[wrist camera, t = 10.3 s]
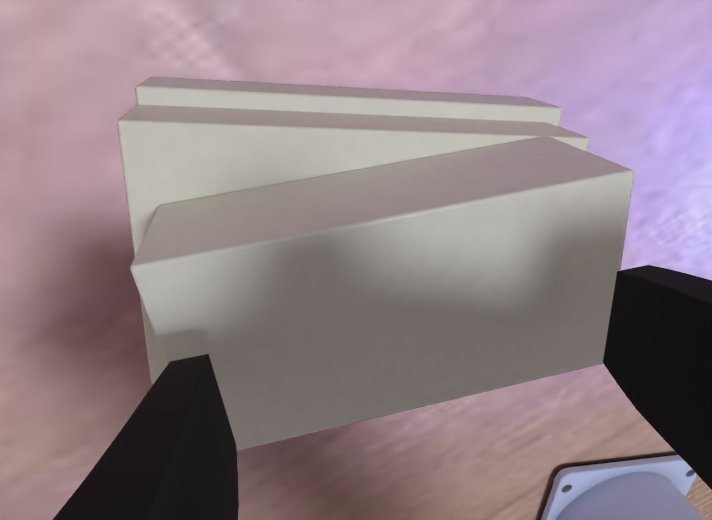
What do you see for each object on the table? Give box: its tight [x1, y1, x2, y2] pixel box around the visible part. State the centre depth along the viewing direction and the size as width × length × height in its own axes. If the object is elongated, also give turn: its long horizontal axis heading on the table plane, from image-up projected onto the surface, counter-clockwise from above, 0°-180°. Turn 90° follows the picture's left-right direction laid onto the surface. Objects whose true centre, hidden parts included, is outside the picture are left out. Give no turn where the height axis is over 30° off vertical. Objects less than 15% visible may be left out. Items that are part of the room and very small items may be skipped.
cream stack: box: [117, 77, 590, 384], centre depth 14 cm, size 7×11×4 cm, turn 86°
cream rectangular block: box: [130, 136, 634, 451], centre depth 11 cm, size 4×9×3 cm, turn 97°
